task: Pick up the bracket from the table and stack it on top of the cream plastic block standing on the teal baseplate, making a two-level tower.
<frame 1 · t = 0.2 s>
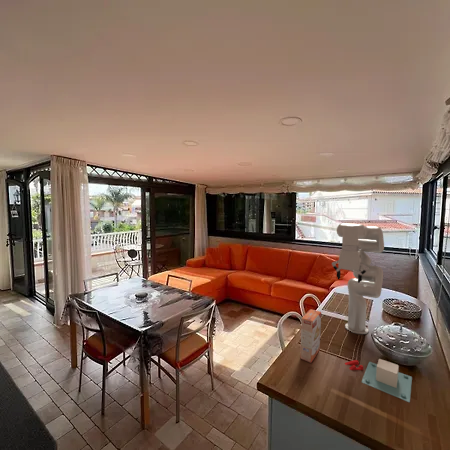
hand: (348, 280, 124), 36 cm above the kitchen counter, tool pointing down, fingers open, 9 cm apart
base block: (387, 379, 100), point 1 cm above the kitchen counter, touching baseplate
baseplate: (386, 382, 100), on the kitchen counter
bracket: (353, 370, 108), on the kitchen counter
cracker box: (310, 354, 119), on the kitchen counter
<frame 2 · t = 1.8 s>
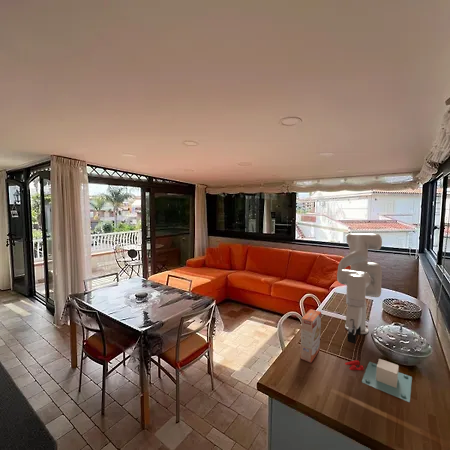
hand: (354, 338, 107), 15 cm above the kitchen counter, tool pointing down, fingers open, 9 cm apart
nothing on the kitchen counter moved.
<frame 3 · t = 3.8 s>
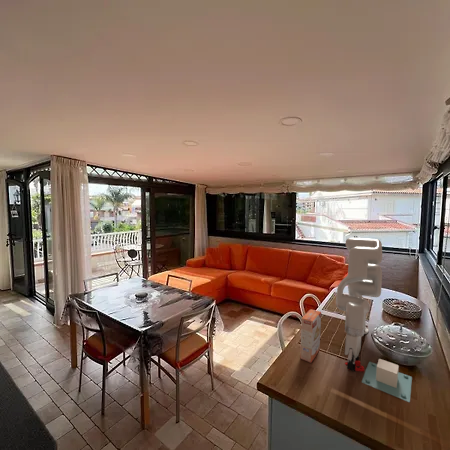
hand: (353, 366, 109), 1 cm above the kitchen counter, tool pointing down, fingers closed on bracket, 5 cm apart
bracket: (354, 370, 108), on the kitchen counter, touching gripper
everything else where it was.
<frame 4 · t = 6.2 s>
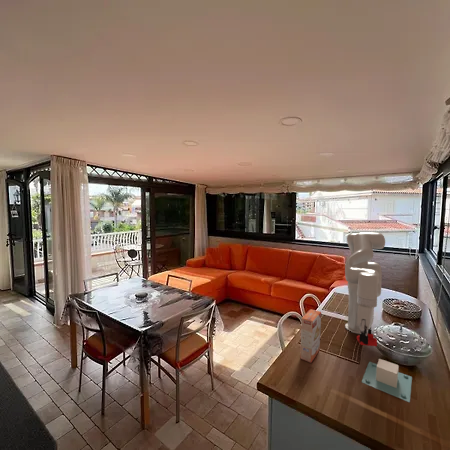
hand: (365, 339, 105), 15 cm above the kitchen counter, tool pointing down, fingers closed on bracket, 5 cm apart
bracket: (366, 342, 104), point 14 cm above the kitchen counter, touching gripper
everything else where it was.
when the fingers open (9 cm above the kitchen counter, at t = 8.7 s): bracket stays where it is, resting on base block.
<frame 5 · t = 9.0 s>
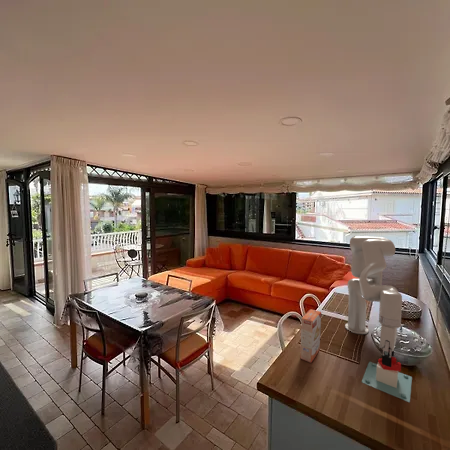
hand: (387, 359, 99), 10 cm above the kitchen counter, tool pointing down, fingers open, 8 cm apart
base block: (387, 379, 100), point 1 cm above the kitchen counter, touching baseplate, bracket
bracket: (389, 367, 99), point 7 cm above the kitchen counter, touching base block
everything else where it was.
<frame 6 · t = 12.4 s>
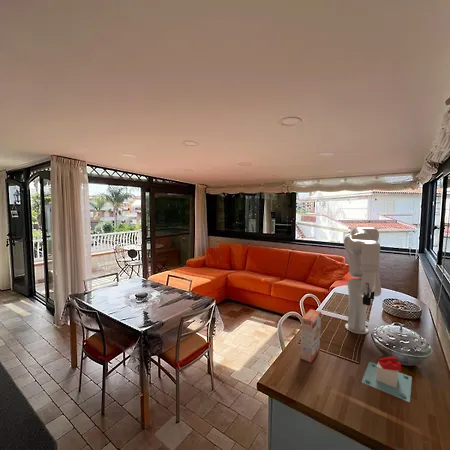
hand: (368, 301, 115), 28 cm above the kitchen counter, tool pointing down, fingers open, 9 cm apart
nothing on the kitchen counter moved.
at the end: bracket 0.5 cm off-centre on the base block, point 5.8 cm above the base block's base; bracket tilted 0°; base block moved 0.0 cm from its start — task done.
